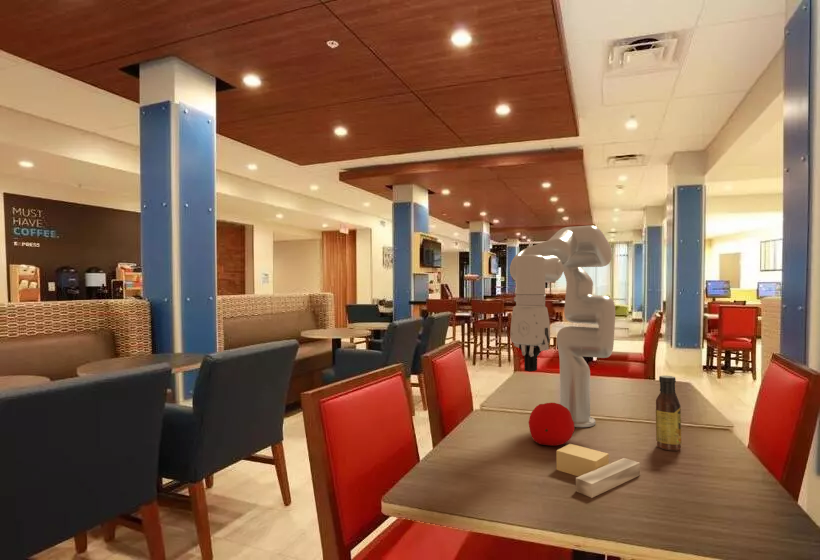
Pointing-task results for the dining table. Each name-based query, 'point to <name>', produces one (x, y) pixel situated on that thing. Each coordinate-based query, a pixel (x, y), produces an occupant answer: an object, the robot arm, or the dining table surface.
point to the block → (580, 459)
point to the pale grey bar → (607, 477)
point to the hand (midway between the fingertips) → (530, 370)
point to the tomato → (551, 424)
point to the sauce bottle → (668, 415)
